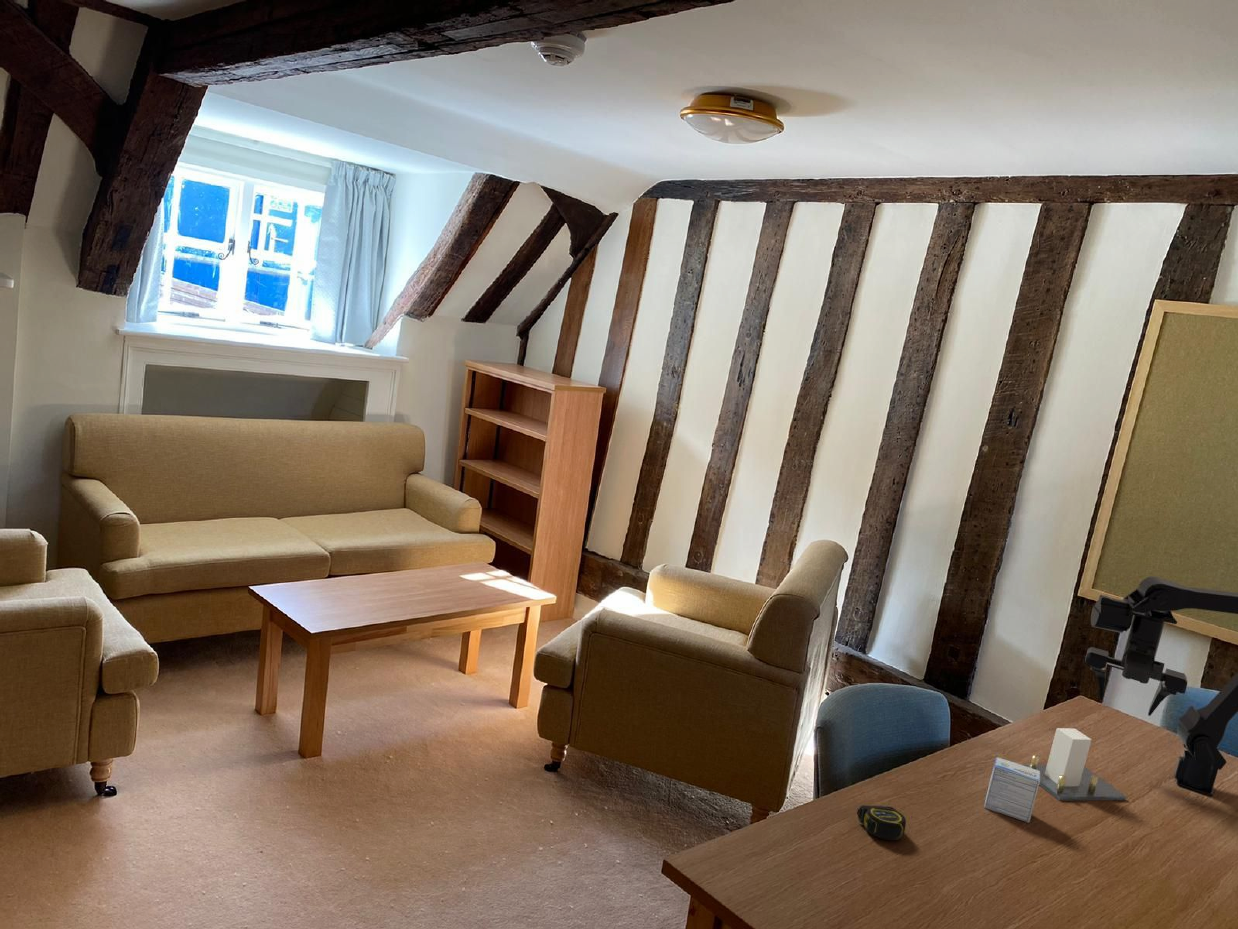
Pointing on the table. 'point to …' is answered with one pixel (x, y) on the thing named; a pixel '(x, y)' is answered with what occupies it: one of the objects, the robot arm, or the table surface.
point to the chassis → (1087, 789)
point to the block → (1068, 756)
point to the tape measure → (882, 821)
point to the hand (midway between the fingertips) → (1124, 707)
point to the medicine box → (1012, 789)
